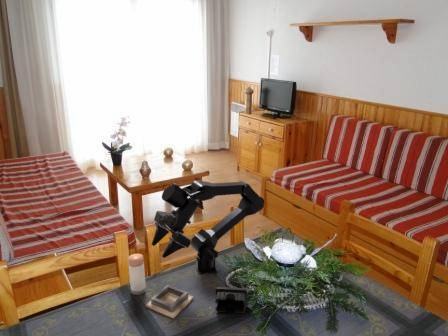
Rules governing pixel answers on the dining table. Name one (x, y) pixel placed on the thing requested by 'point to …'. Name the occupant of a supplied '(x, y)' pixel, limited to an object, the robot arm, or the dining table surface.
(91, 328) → the dining table surface
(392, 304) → the dining table surface
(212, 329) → the dining table surface
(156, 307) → the socket plate
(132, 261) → the white bottle
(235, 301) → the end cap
